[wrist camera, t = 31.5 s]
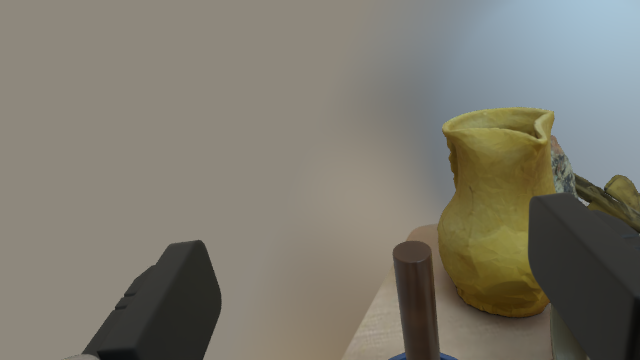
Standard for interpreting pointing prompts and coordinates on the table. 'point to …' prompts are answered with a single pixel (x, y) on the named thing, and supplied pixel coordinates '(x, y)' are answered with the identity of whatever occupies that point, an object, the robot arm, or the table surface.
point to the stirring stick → (417, 300)
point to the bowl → (443, 357)
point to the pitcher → (495, 206)
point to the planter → (564, 340)
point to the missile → (629, 208)
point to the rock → (561, 170)
